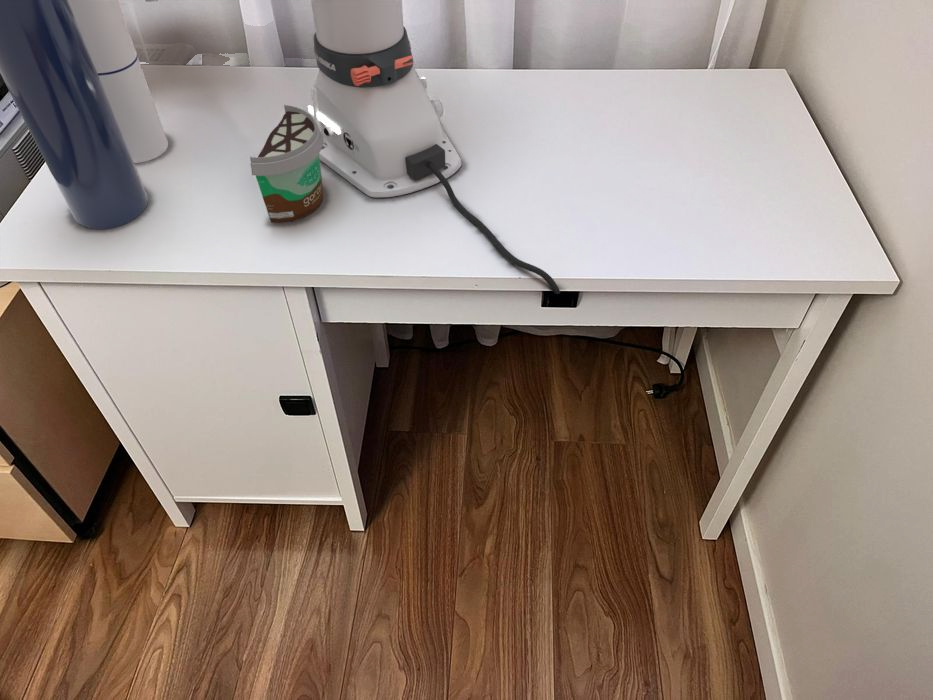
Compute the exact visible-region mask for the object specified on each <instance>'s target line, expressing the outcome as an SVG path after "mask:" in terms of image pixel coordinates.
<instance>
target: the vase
mask: <svg viewBox="0 0 933 700" xmlns="http://www.w3.org/2000/svg"><path fill="white" fill-rule="evenodd" d="M0 76H1V78H2V80H3V82H4V83H5V85H6V87H7V90H8V91H9V93H10V95H11V97H12V99H13V102H14V103H15V105H16V107H17V110H18V111H19V113H20V115H21V118H22V119H23V121H24V123H25V125H26V126H27V129H28V131H29V133H30V135H31V136H32V138H33V141H34V142H35V145H36V147H37V148H38V151H39V152H40V155H41V156H42V158H43V160H44V162H45V164H46V166H47V168H48V170H49V172H50V174H51V176H52V178H53V179H54V182H55V183H56V186H57V188H58V190H59V192H60V193H61V195H62V197H63V199H64V202H65V203H66V206H67V207H68V209H69V211H70V214H71V216H72V217H73V220H75V222H76V223H77V224H78V225H80V226H82V227H84V228H87V229H91V230H92V229H93V230H107V229H108V230H109V229H114V228H117V227H121V226H123V225H125V224H128V223H130V222H132V221H134V220H135V219H137V218H138V217H139V216H140V215H141V214H143V212H145V210H146V208H147V206H148V203H149V197H148V194H147V191H146V189H145V187H144V184H143V181H142V179H141V177H140V175H139V172H138V169H137V167H136V163H134V162H133V159H132V157H131V154H130V152H129V149H128V147H127V144H126V142H125V139H124V137H123V134H122V132H121V129H120V127H119V125H118V122H117V120H116V117H115V115H114V112H113V110H112V107H111V105H110V102H109V100H108V97H107V95H106V92H105V90H104V87H103V85H102V82H101V80H100V77H99V75H98V73H97V70H96V68H95V65H94V63H93V60H92V58H91V55H90V53H89V50H88V48H87V45H86V43H85V40H84V38H83V35H82V33H81V30H80V28H79V25H78V23H77V21H76V18H75V16H74V13H73V11H72V8H71V6H70V3H69V1H68V0H0Z"/></svg>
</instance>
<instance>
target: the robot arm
mask: <svg viewBox="0 0 933 700" xmlns="http://www.w3.org/2000/svg"><path fill="white" fill-rule="evenodd" d="M158 1H159V0H145V2H148V3H149V2H150V3H151V2H158ZM310 5H311V11H312V17H313V23H314V30H315V32H314V35H313V52H314V56H315V60H316V65H317V67H318V69H319V70H318V74H317V77H316V80H315V82H314V84H313V85H312V88H311V91H310V92H311V93H310V94H311V102H312V106H311V105H307V108H308V113H309V114H310V115H311V116H313V119H314V120H315V121H316V123H317V125H318V127H319V129H320V132H321V134H322V136H323V146H322V149H321V151H320V152H319V158H320V162H322V163H323V164H325V165H326V166H327V167H328V168H330V169H331V170H333V171H334V172H335V173H336V174H338V175H339V176H340V177H342V178H343V179H344V180H346V181H347V182H348V183H350V184H351V185H353V186H354V187H355V188H357V189H358V190H359V191H360V192H362V193H363V194H365V195H366V196H368V197H370V198H392V197H397V196H403V195H408V194H411V193H415V192H418V191H421V190H424V189H426V188H428V187H429V188H430V187H431V186H433V185H436V184H439V183H441V184H442V186H443V187H444V189H445V191H446V194H447V195H448V197H449V200H450V201H451V204H453V206H454V207H455V208H456V209H457V210H458V211H459V212H460V214H461V215H463V216H464V217H465V218H466V219H468V220H469V221H470V222H471V223H473V224H474V225H475V226H476V227H477V228H478V229H479V230H480V231H481V232H482V233H483V234H484V235H485V236H486V237H487V238H488V240H489V241H490V242H491V243H492V245H493V246H494V247H495V249H497V251H498V252H499V253H500V254H502V256H503V257H505V258H506V259H507V260H508V261H509V262H511V263H512V264H514V265H515V266H517V267H519V268H521V269H523V270H525V271H528V272H531V273H533V274H536V275H538V276H539V277H541V278H542V279H543V280H544V281H545V282H546V283H547V284H548V286H549V287H550V288H551V290H552V293H554V294H555V295H560V294H561V289H560V288H559V285H558V284H557V283H556V281H555V280H554V279H553V277H552V276H551V275H550V274H549V273H547V272H546V270H543V269H542V268H540V267H538V266H535V265H533V264H531V263H528V262H525V261H523V260H521V259H519V258H518V257H516V256H515V255H513V254H512V253H511V252H510V251H509V250H508V249H506V247H505V246H504V245H503V244H502V243H501V242H500V240H498V238H497V237H496V236H495V234H494V233H493V232H492V231H491V229H489V227H487V226H486V225H485V224H484V223H483V222H482V221H481V220H480V219H479V218H477V217H476V216H475V215H474V214H473V213H471V212H470V211H469V210H468V209H466V208H465V207H464V205H462V203H461V202H460V201H459V199H458V198H457V196H456V194H455V192H454V190H453V188H452V186H451V184H450V183H449V181H448V180H447V179H448V178H450V177H452V176H453V175H454V174H455V173H456V172H457V171H458V170H459V169H460V168H461V167H462V160H461V157H460V155H459V154H458V152H457V149H456V148H455V147H454V145H453V143H452V142H451V140H450V139H449V137H448V135H447V134H446V132H445V131H444V129H443V127H442V126H441V121H440V117H442V116H443V115H444V107H443V103H442V101H441V99H439V98H433V99H430V96H429V94H428V93H427V90H426V89H427V87H428V84H427V80H426V77H424V76H422V77H421V78H420V75H419V74H418V72H417V70H416V68H415V66H414V56H413V53H412V45H411V41H410V38H409V35H408V32H407V29H406V27H405V25H404V11H403V10H404V9H403V0H310Z"/></svg>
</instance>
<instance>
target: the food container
mask: <svg viewBox="0 0 933 700" xmlns="http://www.w3.org/2000/svg"><path fill="white" fill-rule="evenodd" d="M283 108H284V114H283V116H282V118H281V120H280V121H279V123H278V124H277V125H276V126H275V127H274V128H273V129H272V131H271V132H270V133H269V135H268V137H267V139H266V141H265V143H264V145H263V147H262V149H261V151H260V152H259V154H258V155H257V156H250V157H249V159H250V164H249V165H250V171H251V176H255V178H256V182H257V185H258V187H259V190H260V194H261V196H262V199H263V202H264V206H265V208H266V211H267V214H268V218H269V220H270V223H275V224H284V223H292V222H296V221H299V220H302V219H305V218H307V217H308V216H310V215H312V214H314V213H315V212H316V211H317V210H318V209H320V207H321V205H322V203H323V201H324V193H323V180H322V169H321V160H320V158H319V152H320V151H321V149H322V146H323V136H322V134H321V132H320V129H319V127H318V125H317V123H316V121H315V120H314V116H313V115H312V114H311V113H310V112H308V111H306V110H304V109H302V108H300V107H297V106H293V105H289V104H288V105H287V104H283Z"/></svg>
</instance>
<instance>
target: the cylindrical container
mask: <svg viewBox="0 0 933 700" xmlns="http://www.w3.org/2000/svg"><path fill="white" fill-rule="evenodd" d="M68 1H69V3H70V6H71V8H72V11H73V13H74V16H75V18H76V21H77V23H78V25H79V28H80V30H81V33H82V35H83V38H84V40H85V43H86V45H87V48H88V50H89V53H90V55H91V58H92V60H93V63H94V65H95V68H96V70H97V73H98V75H99V77H100V80H101V82H102V85H103V87H104V90H105V92H106V95H107V97H108V100H109V102H110V105H111V107H112V110H113V112H114V115H115V117H116V120H117V122H118V125H119V127H120V129H121V132H122V134H123V137H124V139H125V142H126V144H127V147H128V149H129V152H130V154H131V157H132V159H133V162H134V164H140V163H145V162H149V161H151V160H154V159H156V158H158V157H160V156H161V155H163V154H164V153H165V152H166V151H167V149H168V147H169V140H168V138H167V135H166V133H165V129H164V127H163V124H162V121H161V118H160V116H159V113H158V110H157V107H156V104H155V101H154V98H153V96H152V93H151V90H150V87H149V85H148V82H147V78H146V76H145V73H144V69H143V68H142V65H141V61H140V59H139V57H138V54H137V50H136V48H135V44H134V42H133V39H132V35H131V33H130V30H129V28H128V24H127V22H126V19H125V16H124V14H123V11H122V7H121V5H120V2H119V0H68Z"/></svg>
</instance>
